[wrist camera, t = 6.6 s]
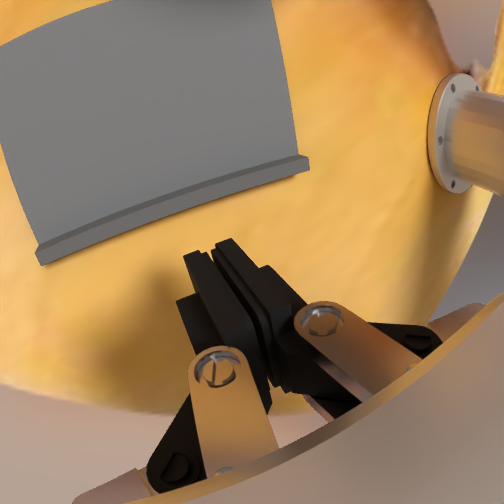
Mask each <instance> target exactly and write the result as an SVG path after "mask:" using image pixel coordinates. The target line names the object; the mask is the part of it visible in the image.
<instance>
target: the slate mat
mask: <svg viewBox="0 0 504 504" xmlns="http://www.w3.org/2000/svg"><path fill="white" fill-rule="evenodd" d="M0 143H1V146H2V150H3V153H4V156H5V159H6V163H7V166H8V169H9V172H10V175H11V178H12V181H13V183H14V186H15V189H16V192H17V194H18V197H19V200H20V202H21V205H22V207H23V210H24V212H25V215H26V217H27V219H28V222H29V224H30V226H31V229H32V231H33V233H34V235H35V238H36V240H37V242H38V244H39V246H38V248H37V250H36V252H35V255H36V257H37V259H38V261H39V263H40V265H41V266H43V265H45V264H47V263H50V262H52V261H54V260H57V259H59V258H61V257H64V256H66V255H68V254H71V253H73V252H75V251H78V250H80V249H83V248H85V247H87V246H90V245H92V244H95V243H97V242H100V241H102V240H105V239H107V238H110V237H112V236H115V235H118V234H120V233H123V232H125V231H128V230H131V229H133V228H136V227H138V226H141V225H144V224H146V223H149V222H152V221H155V220H157V219H160V218H163V217H166V216H168V215H171V214H174V213H177V212H180V211H182V210H185V209H188V208H191V207H194V206H197V205H200V204H203V203H206V202H209V201H212V200H215V199H218V198H221V197H224V196H227V195H230V194H233V193H236V192H239V191H242V190H245V189H249V188H252V187H255V186H258V185H261V184H265V183H268V182H271V181H275V180H278V179H281V178H285V177H288V176H291V175H295V174H298V173H302V172H305V171H309V170H310V167H309V159H308V157H306V156H303V155H299V154H298V147H297V140H296V134H295V127H294V120H293V114H292V108H291V102H290V96H289V90H288V84H287V78H286V73H285V67H284V62H283V56H282V51H281V46H280V41H279V36H278V31H277V26H276V21H275V17H274V12H273V7H272V3H271V0H113V1H109V2H106V3H102V4H99V5H96V6H93V7H90V8H87V9H84V10H81V11H78V12H75V13H72V14H70V15H67V16H64V17H62V18H59V19H57V20H54V21H52V22H50V23H47V24H45V25H43V26H40V27H38V28H36V29H34V30H32V31H29V32H27V33H25V34H23V35H21V36H19V37H17V38H15V39H13V40H11V41H10V42H8V43H6V44H4V45H2V46H0Z"/></svg>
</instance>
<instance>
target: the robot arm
mask: <svg viewBox="0 0 504 504" xmlns="http://www.w3.org/2000/svg"><path fill="white" fill-rule="evenodd" d="M428 153H429V159H430V164H431V168H432V171H433V174H434V176H435V178H436V180H437V182H438V183H439V185H440V186H441V187H442V188H443V189H445V190H447V191H450V192H452V193H455V194H459V193H463V192H465V191H467V190H468V189H469V188H470V187H471V186H472V185H475V186H478V187H480V188H483V189H485V190H488V191H490V192H493V193H495V194H497V195H500V196H502V197H504V96H502V95H498V94H493V93H487V92H482V90H481V88H480V86H479V85H478V83H477V82H476V81H475V80H474V79H473V78H472V77H471V76H469V75H466V74H461V73H453V74H450V75H448V76H447V77H446V78H444V79H443V81H442V82H441V83H440V85H439V86H438V88H437V90H436V92H435V94H434V98H433V101H432V104H431V108H430V113H429V120H428ZM215 247H216V248H215V249H212V250H211V254H212V258H213V261H214V262H213V261H212V259H211V258H210V256H209V255H208V253H207V252H204V253H200V251H199V250H197V251H194V252H192V253H189V254H186V255H184V256H183V258H184V261H185V264H186V267H187V270H188V272H189V275H190V278H191V281H192V284H193V287H194V289H195V292H196V293H195V294H192V295H190V296H187V297H185V298H182V299H180V300H177V301H176V304H177V306H178V309H179V312H180V315H181V317H182V320H183V323H184V325H185V328H186V331H187V333H188V336H189V338H190V341H191V343H192V346H193V348H194V351H195V353H196V357H195V358H194V359H193V360H192V362H191V363H190V366H189V368H188V382H189V388H190V394H189V395H188V397H187V399H186V400H185V402H184V403H183V405H182V407H181V408H180V410H179V412H178V413H177V415H176V417H175V418H174V420H173V422H172V423H171V425H170V426H169V428H168V430H167V431H166V433H165V435H164V436H163V438H162V439H161V441H160V443H159V445H158V446H157V448H156V449H155V451H154V453H153V454H152V456H151V457H150V459H149V462H148V464H147V466H146V467H144V468H142V469H140V470H137V469H136V468H134V469H133V470H130V471H129V472H127V473H125V474H123V475H121V476H119V477H117V478H115V479H113V480H111V481H109V482H107V483H104V484H102V485H100V486H98V487H96V488H94V489H92V490H89V491H87V492H85V493H83V494H81V495H79V496H78V497H76V498H75V500H74V501H73V503H72V504H504V292H503V293H501V294H500V295H498V296H497V297H496V298H494V299H493V300H492V301H491V302H489V303H488V304H487V305H484V304H482V303H472V304H468V305H467V306H465V307H463V308H460V309H458V310H456V311H454V312H452V313H450V314H448V315H445V316H443V317H441V318H439V319H436V320H434V321H432V322H429V323H428V325H427V327H423V326H418V325H402V324H386V323H372V322H366V321H364V320H363V319H361V318H360V317H358V316H357V315H355V314H354V313H352V312H351V311H349V310H348V309H346V308H345V307H343V306H341V305H339V304H337V303H334V302H329V301H319V302H315V303H311V304H309V305H308V304H307V303H306V302H305V301H304V300H303V299H302V298H301V297H300V296H299V295H298V294H297V293H296V292H295V291H294V290H293V289H292V288H291V287H290V286H289V285H288V284H287V283H286V282H285V281H284V280H283V279H282V278H281V277H280V276H279V275H278V274H277V273H276V271H275V270H274V269H273V268H272V267H270V266H269V265H266V266H263V267H261V268H258V267H257V266H256V265H255V264H254V262H253V261H252V260H251V259H250V258H249V257H248V256H247V255H246V254H245V252H244V251H243V250H242V249H241V248H240V247H239V246H238V245H237V244H236V242H235V241H234V240H233V239H232V238H229V239H227V240H224V241H221V242H219V243H216V244H215ZM267 377H268V379H269V380H270V382H271V383H272V385H273V386H274V387H275V388H276V387H278V386H281V388H282V389H283V391H284V392H285V394H286V393H288V392H290V391H292V393H297V394H303V397H304V398H305V400H306V401H307V402H308V403H309V404H310V405H311V406H312V407H313V408H314V409H315V410H316V411H317V412H318V413H319V414H320V415H321V416H322V417H324V419H325V420H326V421H328V422H329V423H328V424H326V425H325V426H323V427H321V428H319V429H317V430H316V431H314V432H312V433H310V434H308V435H306V436H304V437H302V438H300V439H298V440H297V441H295V442H293V443H291V444H289V445H287V446H285V447H283V448H281V449H279V447H278V444H277V442H276V439H275V436H274V433H273V431H272V428H271V425H270V423H269V420H268V417H267V414H268V412H269V409H270V407H271V405H272V399H271V395H270V392H269V391H270V387H269V383H268V379H267Z"/></svg>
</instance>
